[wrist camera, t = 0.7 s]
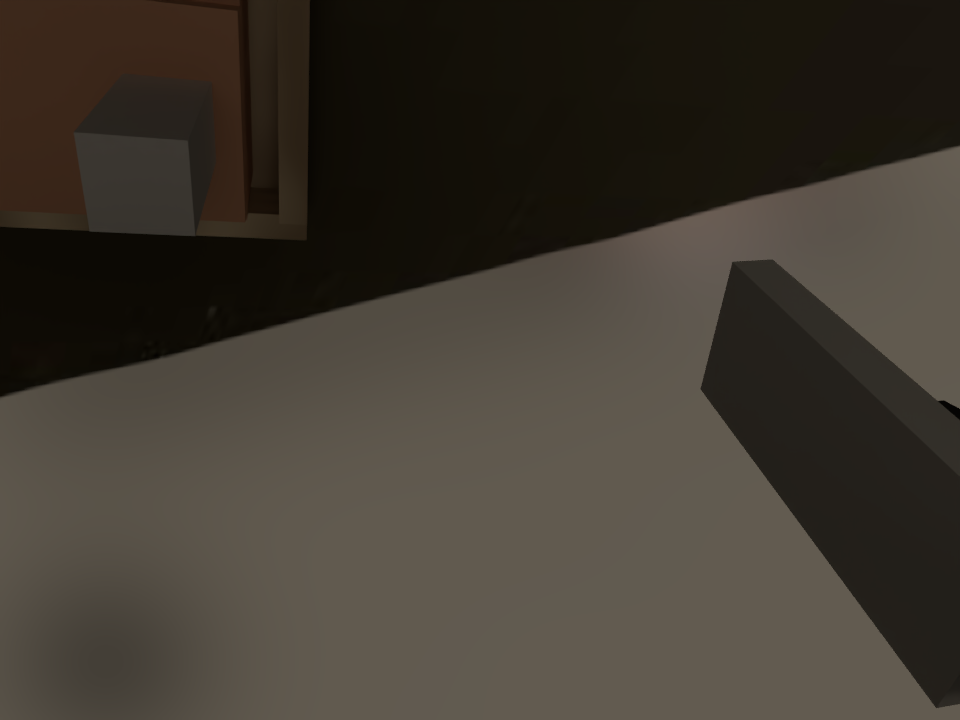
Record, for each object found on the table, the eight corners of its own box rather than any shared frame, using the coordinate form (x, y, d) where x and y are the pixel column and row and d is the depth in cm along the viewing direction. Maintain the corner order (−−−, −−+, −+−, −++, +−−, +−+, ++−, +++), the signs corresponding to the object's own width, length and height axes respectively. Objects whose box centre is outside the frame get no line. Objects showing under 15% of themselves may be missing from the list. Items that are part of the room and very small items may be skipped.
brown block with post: (44, 165, 33) (-77, 309, 22) (3, -54, 28) (-174, -3, 18) (253, 179, 35) (232, 315, 24) (247, -22, 30) (219, 39, 20)
